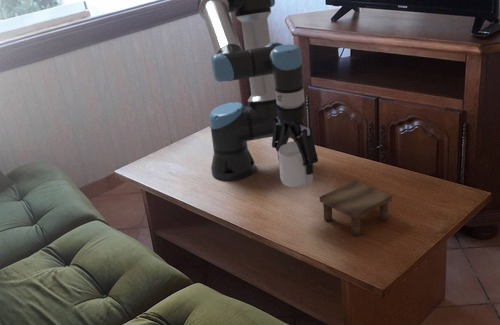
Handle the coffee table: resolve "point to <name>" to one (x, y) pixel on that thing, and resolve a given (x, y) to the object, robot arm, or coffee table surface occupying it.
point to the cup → (291, 165)
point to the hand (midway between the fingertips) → (296, 177)
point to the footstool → (355, 203)
